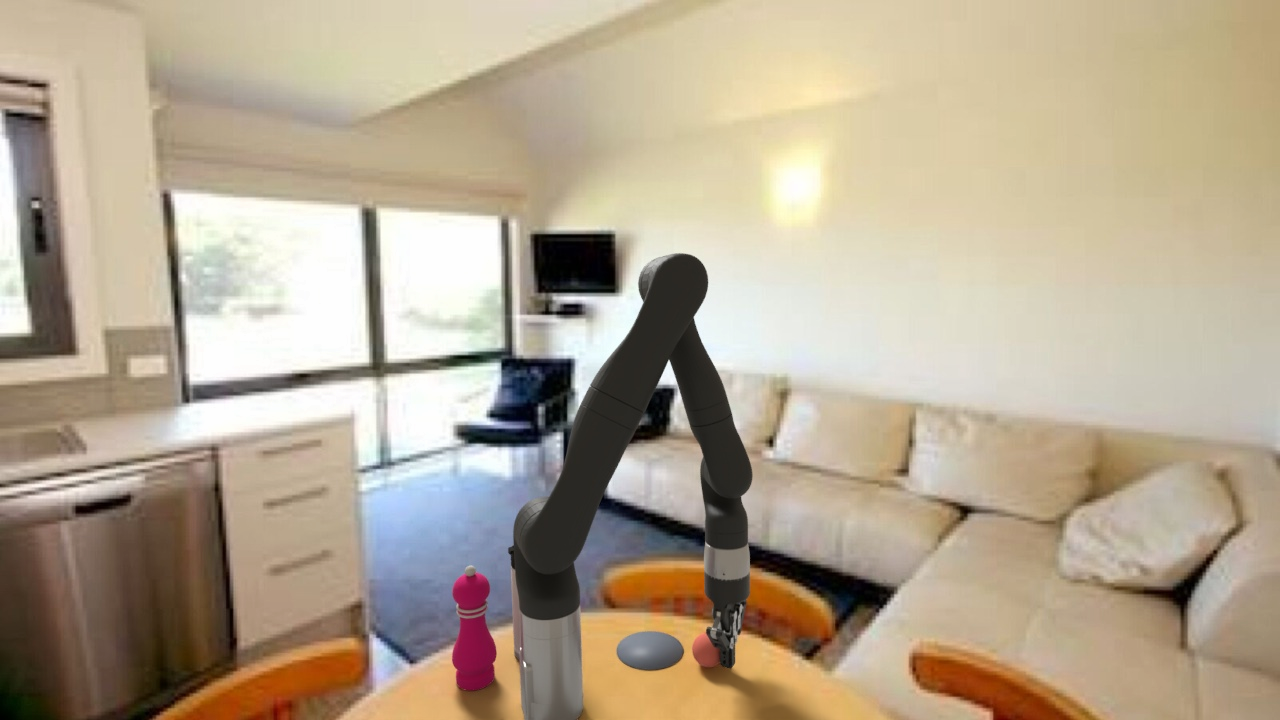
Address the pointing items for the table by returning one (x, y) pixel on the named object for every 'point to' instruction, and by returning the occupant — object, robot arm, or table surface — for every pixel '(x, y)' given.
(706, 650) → the ball
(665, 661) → the disc
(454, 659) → the pepper mill
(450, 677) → the table surface
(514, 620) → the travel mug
